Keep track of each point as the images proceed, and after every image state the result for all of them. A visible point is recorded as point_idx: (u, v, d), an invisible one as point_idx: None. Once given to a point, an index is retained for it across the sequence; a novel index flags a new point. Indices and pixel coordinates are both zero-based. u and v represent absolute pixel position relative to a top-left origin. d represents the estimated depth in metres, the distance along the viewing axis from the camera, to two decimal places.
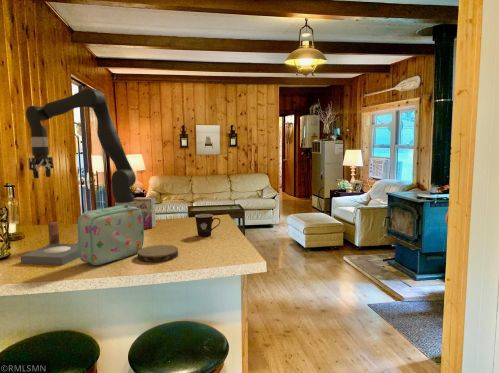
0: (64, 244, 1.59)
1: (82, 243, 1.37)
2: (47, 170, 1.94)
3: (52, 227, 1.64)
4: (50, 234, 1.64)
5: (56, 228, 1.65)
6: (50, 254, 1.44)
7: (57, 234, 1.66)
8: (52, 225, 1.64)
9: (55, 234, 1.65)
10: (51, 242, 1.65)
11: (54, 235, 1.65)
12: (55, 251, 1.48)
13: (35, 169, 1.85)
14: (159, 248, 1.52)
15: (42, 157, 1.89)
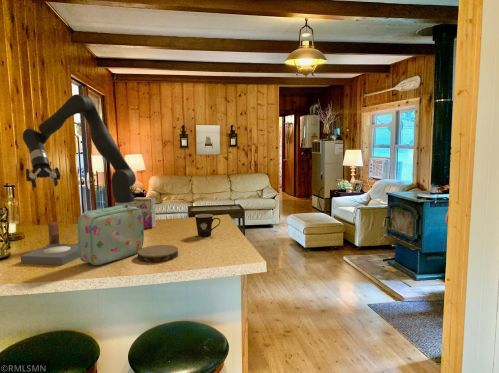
0: (64, 244, 1.59)
1: (82, 243, 1.37)
2: (53, 179, 1.77)
3: (52, 227, 1.64)
4: (50, 234, 1.64)
5: (56, 228, 1.65)
6: (50, 254, 1.44)
7: (57, 234, 1.66)
8: (52, 225, 1.64)
9: (55, 234, 1.65)
10: (51, 242, 1.65)
11: (54, 235, 1.65)
12: (55, 251, 1.48)
13: None
14: (159, 248, 1.52)
15: (41, 168, 1.77)
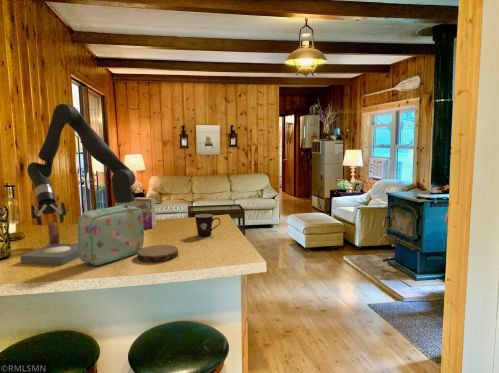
0: (64, 244, 1.59)
1: (82, 243, 1.37)
2: (59, 216, 1.73)
3: (52, 227, 1.64)
4: (50, 234, 1.64)
5: (56, 228, 1.65)
6: (50, 254, 1.44)
7: (57, 234, 1.66)
8: (52, 225, 1.64)
9: (55, 234, 1.65)
10: (51, 242, 1.65)
11: (54, 235, 1.65)
12: (55, 251, 1.48)
13: (36, 215, 1.67)
14: (159, 248, 1.52)
15: (47, 204, 1.73)
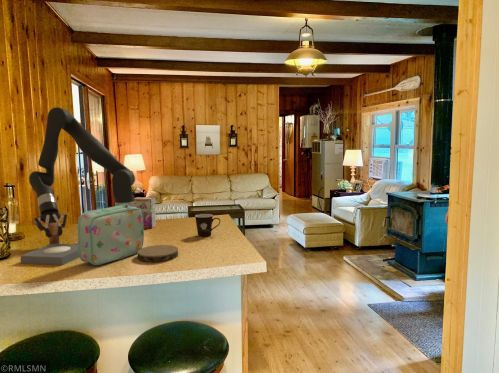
0: (64, 244, 1.59)
1: (82, 243, 1.37)
2: (58, 228, 1.67)
3: (52, 227, 1.64)
4: (50, 234, 1.64)
5: (56, 228, 1.65)
6: (50, 254, 1.44)
7: (57, 234, 1.66)
8: (52, 225, 1.64)
9: (55, 234, 1.65)
10: (51, 242, 1.65)
11: (54, 235, 1.65)
12: (55, 251, 1.48)
13: (44, 227, 1.64)
14: (159, 248, 1.52)
15: (49, 214, 1.69)
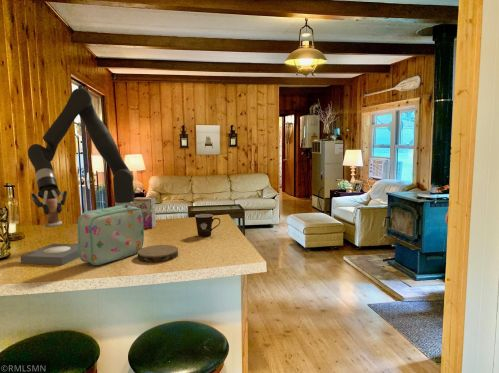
0: (64, 244, 1.59)
1: (82, 243, 1.37)
2: (57, 205, 1.55)
3: (50, 203, 1.51)
4: (48, 211, 1.51)
5: (55, 204, 1.52)
6: (50, 254, 1.44)
7: (56, 211, 1.53)
8: (50, 201, 1.51)
9: (53, 211, 1.52)
10: (49, 220, 1.52)
11: (53, 212, 1.52)
12: (55, 251, 1.48)
13: (42, 204, 1.52)
14: (159, 248, 1.52)
15: (48, 190, 1.56)
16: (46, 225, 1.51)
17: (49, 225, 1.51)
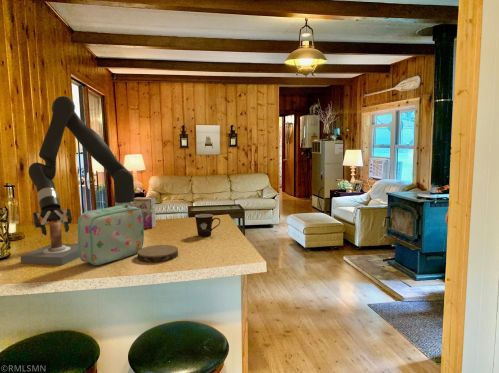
0: (64, 244, 1.59)
1: (82, 243, 1.37)
2: (64, 224, 1.52)
3: (54, 227, 1.48)
4: (52, 235, 1.48)
5: (58, 228, 1.49)
6: (50, 254, 1.44)
7: (59, 235, 1.50)
8: (54, 225, 1.48)
9: (57, 235, 1.49)
10: (53, 244, 1.49)
11: (56, 236, 1.48)
12: None
13: (40, 224, 1.47)
14: (159, 248, 1.52)
15: (51, 210, 1.53)
16: (49, 250, 1.48)
17: (53, 250, 1.48)
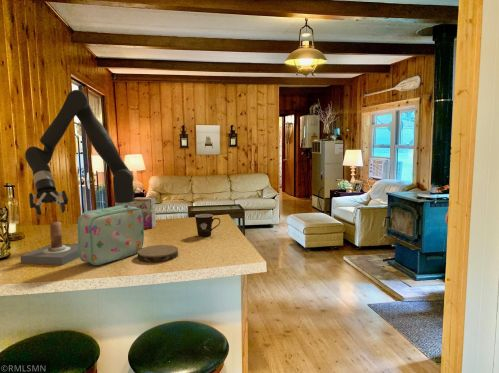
0: (64, 244, 1.59)
1: (82, 243, 1.37)
2: (60, 205, 1.58)
3: (54, 227, 1.48)
4: (52, 235, 1.48)
5: (59, 228, 1.49)
6: (50, 254, 1.44)
7: (60, 235, 1.50)
8: (54, 225, 1.48)
9: (57, 235, 1.49)
10: (53, 244, 1.48)
11: (56, 236, 1.48)
12: None
13: (35, 204, 1.52)
14: (159, 248, 1.52)
15: (46, 192, 1.58)
16: (49, 250, 1.48)
17: (53, 250, 1.47)
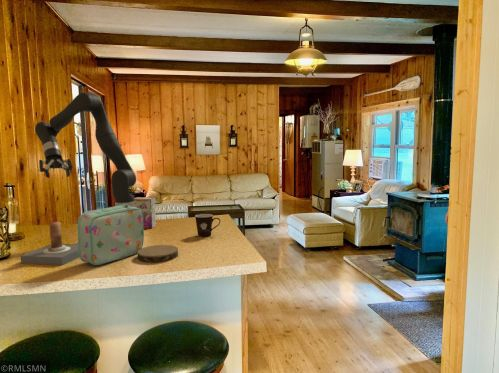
0: (64, 244, 1.59)
1: (82, 243, 1.37)
2: (66, 170, 1.83)
3: (54, 227, 1.48)
4: (52, 235, 1.48)
5: (58, 228, 1.49)
6: (50, 254, 1.44)
7: (60, 235, 1.50)
8: (54, 225, 1.48)
9: (57, 235, 1.49)
10: (53, 244, 1.48)
11: (56, 236, 1.48)
12: None
13: (44, 169, 1.78)
14: (159, 248, 1.52)
15: (54, 159, 1.84)
16: (50, 250, 1.48)
17: (53, 250, 1.48)
